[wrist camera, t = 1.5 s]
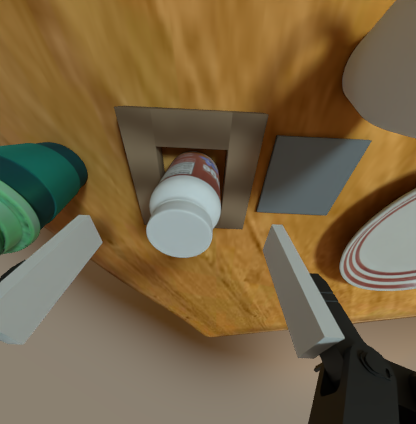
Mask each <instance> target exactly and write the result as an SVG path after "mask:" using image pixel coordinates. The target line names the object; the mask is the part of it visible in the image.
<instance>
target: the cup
mask: <svg viewBox="0 0 416 424" xmlns="http://www.w3.org/2000/svg"><path fill="white" fill-rule="evenodd" d="M87 176H88V174H87V169H86V167H85V164H84V163H83V161H82V160H81V159H80V158H79V156H78V155H77V154H75V153H74V152H73V151H72V150H70V149H69V148H67V147H65V146H63V145H60V144H56V143H51V142H45V143H36V144H33V143H25V144H16V145H7V146H0V255H1V254H6V253H12V252H16V251H19V250H22V249H24V248H26V247H27V246H29V245H30V244H31V243H33V242H34V241H35V240H36V239H37V237H38V236H39V233H40V230H41V229H42V228H43V227H44V226H45V225H46V224H47V223H49V222H50V221H52V220H53V219H54V218H55V216H56V215H57V214H58V213H59V212H60V211H61V210H62V209H63V208H64V207H65V206H66V205H67V204H68V203H69V202H70V200H71V199H72V198H73V197H74V196H75V195H76V194H77V193H78V191H79V189H80V188H81V187H82V186H83V185H84V184H85V182H86V180H87Z"/></svg>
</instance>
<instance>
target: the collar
mask: <svg viewBox="0 0 416 424" xmlns="http://www.w3.org/2000/svg"><path fill="white" fill-rule="evenodd" d="M114 108H115V112H116V116H117V120H118V124H119V128H120V132H121V136H122V139H123V143H124V147H125V151H126V155H127V159H128V163H129V167H130V170H131V174H132V178H133V182H134V186H135V190H136V194H137V198H138V201H139V205H140V209H141V213H142V217H143V221H144V224H145V225H147V224H148V221H149V219H150V217H151V213H150V208H149V203H150V198H151V195H152V193H153V191H154V189H155V188H156V186H157V185H158V183H159V182H160V180H161V179H162V177H163V176H164V174H165V171H164V164H163V156H162V148H161V147H178V148H198V149H218V150H227V151H226V161H225V170H224V179H223V189H222V198H221V214H220V218H219V221H218V223H217V224H216V226H215V227H214V228H229V229H243V224H244V220H245V216H246V211H247V207H248V202H249V198H250V194H251V189H252V185H253V180H254V176H255V172H256V167H257V163H258V158H259V154H260V150H261V145H262V141H263V137H264V132H265V128H266V123H267V119H268V114H265V113H257V112H237V111H217V110H198V109H178V108H158V107H138V106H118V107H114Z"/></svg>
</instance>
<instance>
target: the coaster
mask: <svg viewBox="0 0 416 424" xmlns="http://www.w3.org/2000/svg"><path fill="white" fill-rule="evenodd" d="M370 143H371V141H370V140H359V139H339V138H319V137H299V136H279V135H277V136H276V140H275V144H274V147H273V151H272V155H271V158H270V162H269V166H268V169H267V173H266V177H265V180H264V184H263V188H262V192H261V195H260V199H259V203H258V206H257V210H256V211H257V212H268V213H289V214H309V215H327V213H328V212H329V210H330V209H331V207H332V205H333V204H334V202H335V200H336V199H337V197H338V195H339V194H340V192H341V190H342V189H343V187H344V185H345V184H346V182H347V181H348V179H349V177H350V176H351V174H352V172H353V171H354V169H355V167H356V166H357V164H358V162H359V161H360V159H361V157H362V156H363V154H364V152H365V151H366V149H367V148H368V146H369V144H370Z"/></svg>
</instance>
